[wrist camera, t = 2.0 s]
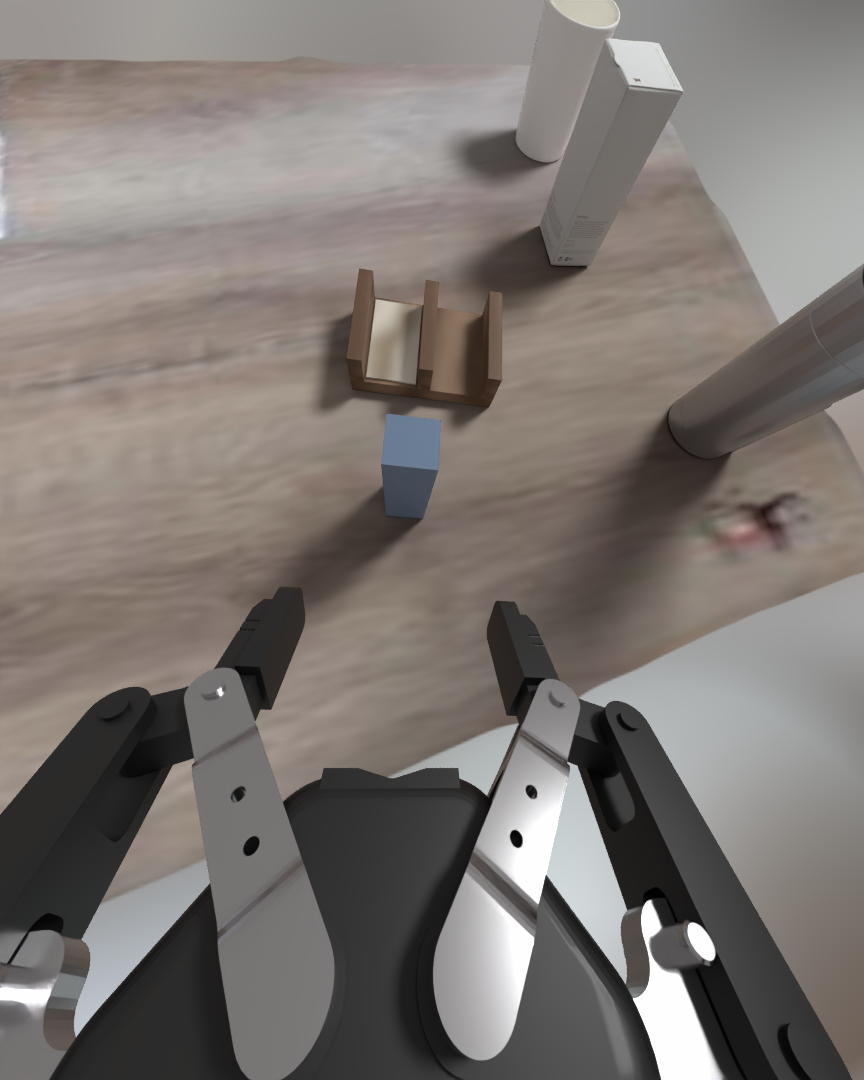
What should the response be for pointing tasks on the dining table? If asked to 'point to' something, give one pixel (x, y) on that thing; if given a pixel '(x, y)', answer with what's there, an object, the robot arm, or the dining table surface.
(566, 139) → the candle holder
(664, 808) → the robot arm
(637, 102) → the skincare box
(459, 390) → the rack
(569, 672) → the dining table surface
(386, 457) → the block
